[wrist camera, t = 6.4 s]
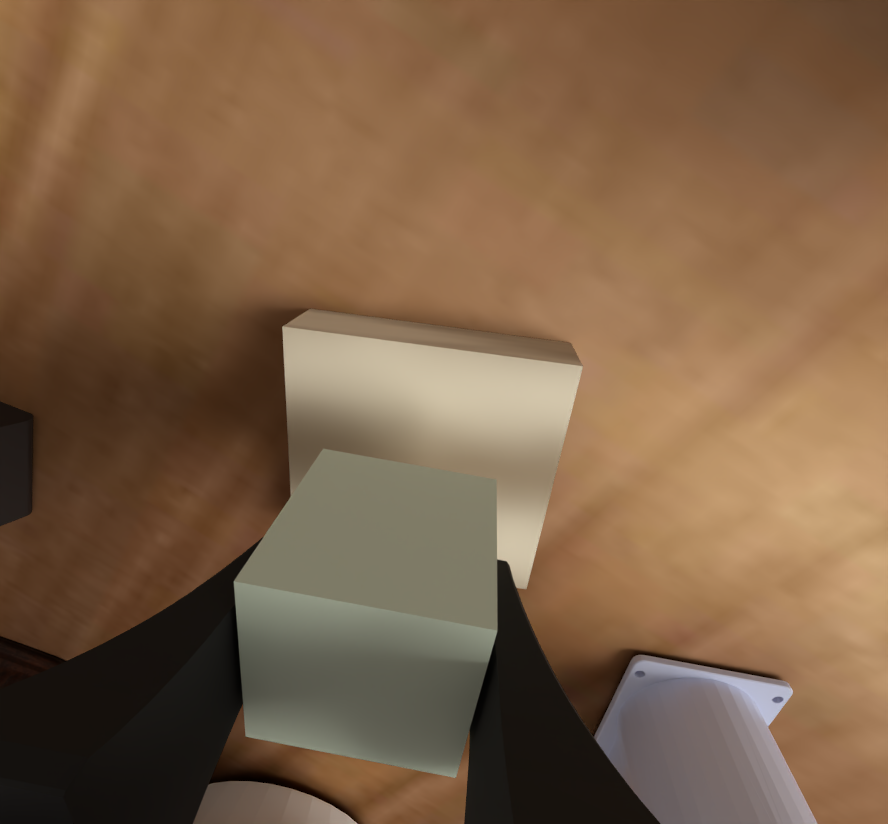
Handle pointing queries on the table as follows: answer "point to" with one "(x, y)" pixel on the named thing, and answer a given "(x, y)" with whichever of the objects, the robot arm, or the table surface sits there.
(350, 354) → the birch block
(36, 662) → the manual coffee grinder
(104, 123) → the table surface
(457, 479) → the sage cube
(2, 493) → the phone stand
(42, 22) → the table surface
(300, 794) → the bowl
